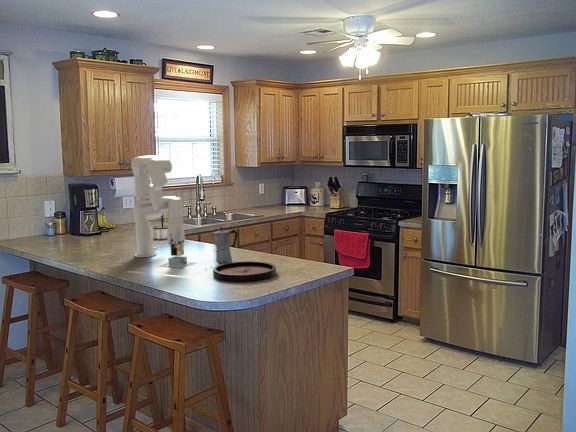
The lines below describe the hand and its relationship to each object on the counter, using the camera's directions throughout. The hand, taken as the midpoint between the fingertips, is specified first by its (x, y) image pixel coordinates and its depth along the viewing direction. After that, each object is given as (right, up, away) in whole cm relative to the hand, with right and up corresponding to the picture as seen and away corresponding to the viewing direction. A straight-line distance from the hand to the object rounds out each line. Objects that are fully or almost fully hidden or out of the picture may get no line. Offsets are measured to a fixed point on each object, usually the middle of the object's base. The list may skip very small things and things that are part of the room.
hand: (177, 253), depth 302 cm
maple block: (0, -1, 0) cm, 1 cm away
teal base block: (0, -6, +1) cm, 6 cm away
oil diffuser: (-30, +4, +97) cm, 102 cm away
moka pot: (+25, -6, +9) cm, 27 cm away
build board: (0, -7, +1) cm, 7 cm away
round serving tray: (+38, -10, -22) cm, 45 cm away
